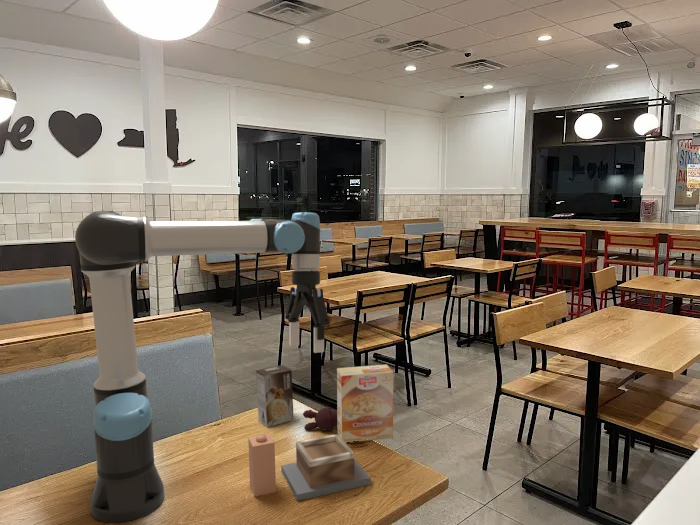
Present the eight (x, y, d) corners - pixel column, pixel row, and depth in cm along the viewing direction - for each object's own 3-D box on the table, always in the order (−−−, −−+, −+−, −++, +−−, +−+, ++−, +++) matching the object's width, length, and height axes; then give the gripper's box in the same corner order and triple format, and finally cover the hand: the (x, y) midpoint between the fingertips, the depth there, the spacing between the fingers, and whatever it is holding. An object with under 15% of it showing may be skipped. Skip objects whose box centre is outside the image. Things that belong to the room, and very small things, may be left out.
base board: (297, 501, 117) (297, 494, 117) (281, 471, 130) (281, 465, 130) (370, 484, 124) (370, 478, 124) (348, 457, 137) (348, 451, 137)
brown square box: (310, 487, 120) (309, 462, 119) (296, 465, 130) (296, 441, 129) (354, 478, 124) (354, 453, 123) (338, 457, 134) (337, 433, 133)
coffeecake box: (341, 444, 145) (340, 375, 142) (336, 432, 151) (336, 367, 149) (394, 438, 148) (394, 371, 145) (387, 427, 155) (386, 363, 152)
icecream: (353, 402, 158) (304, 407, 158) (353, 405, 150) (301, 410, 150) (356, 426, 157) (306, 430, 157) (355, 430, 149) (303, 435, 150)
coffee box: (284, 413, 165) (283, 364, 163) (294, 420, 160) (292, 369, 158) (257, 420, 160) (255, 369, 158) (266, 428, 155) (264, 375, 153)
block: (254, 496, 119) (252, 443, 118) (250, 485, 124) (248, 434, 122) (275, 491, 121) (274, 439, 120) (270, 481, 126) (269, 430, 124)
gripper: (342, 270, 134) (342, 353, 134) (296, 269, 155) (296, 341, 154) (317, 270, 130) (317, 356, 130) (273, 269, 150) (273, 344, 150)
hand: (306, 348), depth 142 cm, fingers open, 13 cm apart
